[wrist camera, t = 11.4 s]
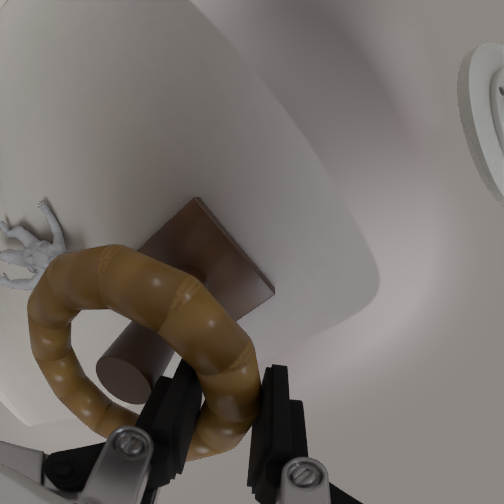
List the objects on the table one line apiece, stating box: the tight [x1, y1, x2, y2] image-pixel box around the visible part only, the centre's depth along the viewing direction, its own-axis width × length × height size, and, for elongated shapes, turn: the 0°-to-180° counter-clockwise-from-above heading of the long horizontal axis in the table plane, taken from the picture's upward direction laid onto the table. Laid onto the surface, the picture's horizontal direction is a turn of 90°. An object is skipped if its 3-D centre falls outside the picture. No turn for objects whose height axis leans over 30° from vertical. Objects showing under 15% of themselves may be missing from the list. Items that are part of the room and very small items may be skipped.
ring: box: [27, 244, 263, 462], centre depth 9 cm, size 10×10×2 cm
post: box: [96, 197, 275, 405], centre depth 14 cm, size 8×8×11 cm
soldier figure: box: [0, 200, 66, 290], centre depth 17 cm, size 8×5×12 cm
